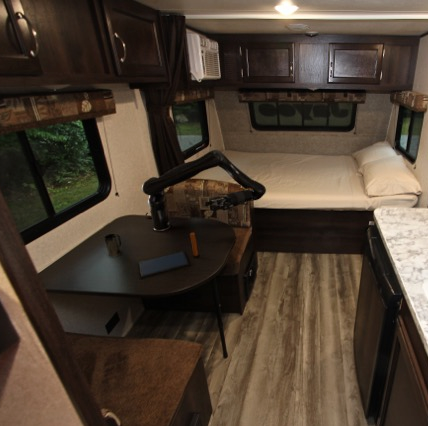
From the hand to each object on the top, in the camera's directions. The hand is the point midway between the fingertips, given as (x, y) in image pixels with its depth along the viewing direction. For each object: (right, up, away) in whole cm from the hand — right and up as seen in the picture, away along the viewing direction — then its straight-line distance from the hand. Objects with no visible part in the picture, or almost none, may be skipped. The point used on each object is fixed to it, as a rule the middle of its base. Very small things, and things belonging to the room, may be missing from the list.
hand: (208, 206), depth 154 cm
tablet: (-22, -30, -3) cm, 37 cm away
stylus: (-8, -27, +4) cm, 28 cm away
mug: (-52, -26, +5) cm, 58 cm away
